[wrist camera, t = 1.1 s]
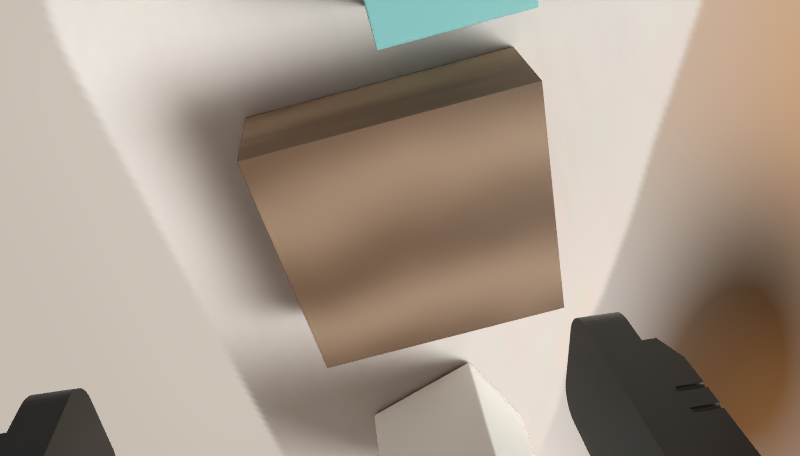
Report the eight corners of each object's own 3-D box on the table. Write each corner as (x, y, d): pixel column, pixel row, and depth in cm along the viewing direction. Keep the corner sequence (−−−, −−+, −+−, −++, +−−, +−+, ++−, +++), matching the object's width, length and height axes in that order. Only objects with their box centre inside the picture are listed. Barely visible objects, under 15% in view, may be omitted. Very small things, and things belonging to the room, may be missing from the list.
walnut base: (245, 118, 27) (237, 161, 24) (513, 46, 27) (541, 80, 23) (325, 313, 34) (327, 367, 31) (538, 258, 34) (563, 307, 30)
